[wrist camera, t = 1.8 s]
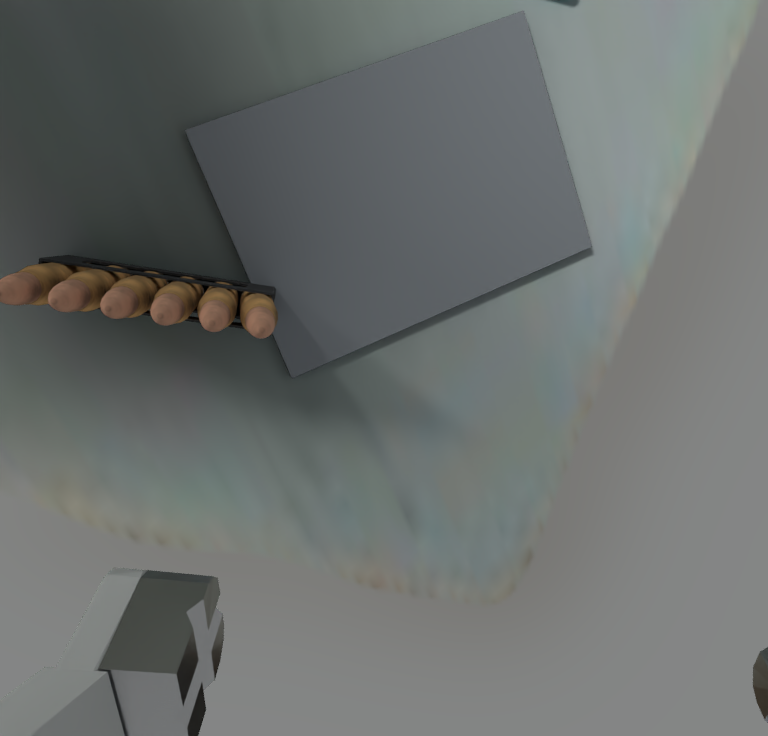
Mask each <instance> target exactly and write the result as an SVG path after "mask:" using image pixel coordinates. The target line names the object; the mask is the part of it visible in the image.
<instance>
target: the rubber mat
mask: <svg viewBox="0 0 768 736" xmlns="http://www.w3.org/2000/svg"><path fill="white" fill-rule="evenodd" d="M185 133H186V135H187V138H188V140H189V142H190V145H191V147H192V149H193V152H194V154H195V156H196V159H197V161H198V163H199V165H200V168H201V170H202V172H203V175H204V177H205V179H206V182H207V184H208V186H209V189H210V191H211V193H212V195H213V198H214V200H215V202H216V205H217V207H218V209H219V212H220V214H221V216H222V219H223V221H224V223H225V226H226V228H227V230H228V232H229V235H230V237H231V239H232V242H233V244H234V246H235V249H236V251H237V253H238V256H239V258H240V260H241V262H242V265H243V267H244V269H245V272H246V274H247V276H248V279H249V281H250V283H252V284H259V285H266V286H272V287H275V288H276V296H275V300H274V305H275V307H276V310H277V312H278V321H277V324H276V326H275V328H274V331H273V332H272V334H273V336H274V339H275V341H276V343H277V346H278V348H279V350H280V353H281V355H282V357H283V360H284V362H285V364H286V366H287V369H288V371H289V373H290V376H291V377H292V378H294V377H296V376H299V375H301V374H303V373H306V372H308V371H310V370H312V369H315V368H317V367H319V366H321V365H324V364H326V363H328V362H331V361H333V360H335V359H337V358H340V357H342V356H344V355H346V354H349V353H351V352H353V351H356V350H358V349H360V348H362V347H365V346H367V345H369V344H372V343H374V342H376V341H378V340H381V339H383V338H385V337H387V336H390V335H392V334H394V333H397V332H399V331H401V330H403V329H406V328H408V327H410V326H412V325H415V324H417V323H419V322H422V321H424V320H426V319H428V318H431V317H433V316H435V315H438V314H440V313H442V312H444V311H447V310H449V309H451V308H453V307H456V306H458V305H460V304H463V303H465V302H467V301H469V300H472V299H474V298H476V297H478V296H481V295H483V294H485V293H488V292H490V291H492V290H494V289H497V288H499V287H501V286H503V285H506V284H508V283H510V282H513V281H515V280H517V279H519V278H522V277H524V276H526V275H529V274H531V273H533V272H535V271H538V270H540V269H542V268H544V267H547V266H549V265H551V264H554V263H556V262H558V261H560V260H563V259H565V258H567V257H569V256H572V255H574V254H576V253H579V252H581V251H583V250H585V249H588V248H590V247H592V244H591V241H590V237H589V234H588V230H587V227H586V224H585V220H584V217H583V213H582V210H581V206H580V203H579V199H578V196H577V192H576V189H575V186H574V182H573V179H572V175H571V172H570V168H569V165H568V161H567V158H566V155H565V151H564V148H563V144H562V141H561V137H560V134H559V130H558V127H557V123H556V120H555V117H554V113H553V110H552V106H551V103H550V99H549V96H548V92H547V89H546V86H545V82H544V79H543V75H542V72H541V68H540V65H539V61H538V58H537V55H536V51H535V48H534V44H533V41H532V37H531V34H530V30H529V27H528V23H527V20H526V17H525V13H524V11H521V12H518V13H515V14H512V15H510V16H507V17H504V18H501V19H498V20H495V21H492V22H490V23H487V24H484V25H481V26H478V27H475V28H473V29H470V30H467V31H464V32H461V33H458V34H456V35H453V36H450V37H447V38H444V39H441V40H439V41H436V42H433V43H430V44H427V45H424V46H422V47H419V48H416V49H413V50H410V51H407V52H405V53H402V54H399V55H396V56H393V57H390V58H387V59H385V60H382V61H379V62H376V63H373V64H370V65H368V66H365V67H362V68H359V69H356V70H353V71H351V72H348V73H345V74H342V75H339V76H336V77H334V78H331V79H328V80H325V81H322V82H319V83H317V84H314V85H311V86H308V87H305V88H302V89H300V90H297V91H294V92H291V93H288V94H285V95H282V96H280V97H277V98H274V99H271V100H268V101H265V102H263V103H260V104H257V105H254V106H251V107H248V108H246V109H243V110H240V111H237V112H234V113H231V114H229V115H226V116H223V117H220V118H217V119H214V120H212V121H209V122H206V123H203V124H200V125H197V126H195V127H192V128H189V129H186V130H185Z"/></svg>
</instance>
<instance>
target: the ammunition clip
mask: <svg viewBox="0 0 768 736" xmlns="http://www.w3.org/2000/svg"><path fill="white" fill-rule="evenodd" d="M275 296H276V288H275V287H272V286H266V285H259V284H252V283H246V282H239V281H233V280H226V279H220V278H213V277H207V276H200V275H194V274H187V273H181V272H174V271H168V270H161V269H155V268H148V267H142V266H135V265H129V264H122V263H116V262H109V261H103V260H96V259H89V258H83V257H76V256H70V255H64V256H55V257H46V258H40V259H39V264H36V265H31V266H27V267H25V268H23V269H22V270H20V271H19V272H16V273H14V274H10V275H7V276H5V277H4V278H2V279H0V302H2V303H5V304H9V305H24V304H32V305H44V304H49V305H50V306H51V307H52V308H54V309H55V310H58V311H61V312H74V311H84V312H87V311H92V310H95V309H101V310H102V312H103V313H104V314H105V315H106V316H107V317H109V318H113V319H122V318H126V317H128V318H132V317H137V316H139V315H148V316H152V319H153V320H154V321H155V322H156V323H158V324H160V325H165V326H167V325H172V324H176V323H181V322H183V321H191V322H199V323H201V325H202V326H203V328H204V329H206V330H208V331H210V332H218V331H221V330H222V329H224V328H226V327H227V326H228V327H235V328H242V329H246V330H247V331H248V332H249V333H250V334H251V335H252V336H254V337H256V338H261V339H262V338H266V337H268V336H270V335H271V333H272V332H273V331H274V328H275V326H276V324H277V321H278V312H277V310H276V307H275V305H274V300H275ZM150 308H151V309H150ZM149 309H150V311H149ZM192 312H194V313H198V317H192V316H190V315H191V313H192ZM235 318H237V319H240V321H241V322H240V323H237V322H233V320H234V319H235Z"/></svg>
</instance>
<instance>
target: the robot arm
mask: <svg viewBox="0 0 768 736" xmlns="http://www.w3.org/2000/svg"><path fill="white" fill-rule="evenodd" d="M219 596H220V589H219V583H218V578H217V577H212V576H203V575H192V574H182V573H172V572H160V571H151V570H136V569H125V568H113V569H112V570H111V571H110V572H109V573H108V574H107V575H106V576H105V577H104V578H103V580H102V582H101V584H100V586H99V587H98V589H97V591H96V593H95V595H94V597H93V599H92V600H91V602H90V604H89V606H88V608H87V610H86V612H85V614H84V615H83V617H82V619H81V621H80V623H79V625H78V627H77V628H76V630H75V632H74V634H73V636H72V638H71V640H70V642H69V643H68V645H67V648H66V649H65V651H64V653H63V655H62V657H61V658H60V660H59V662H58V664H57V666H56V667H44V668H43V669H42V670H40V671H39V672H37V673H36V674H35V675H33V676H32V677H31V678H30V679H28V680H27V681H25V682H24V683H23V684H21V685H20V686H19V687H17V688H16V689H15V690H13V691H12V692H11V693H9V694H8V695H6V696H5V697H4V698H2V699H1V700H0V736H198V735H199V732H200V728H201V725H202V721H203V718H204V715H205V711H206V705H205V698H204V692H203V690H204V689H206V688H207V687H208V686H209V685H210V684H211V683H212V682H213V681H214V680H215V678H216V674H217V670H218V666H219V663H220V659H221V653H222V646H223V640H224V621H223V614H222V613H221V612H220V611H219V610H218V609H217V608H216V605H217V602H218V599H219ZM753 689H754V693H755V697H756V701H757V704H758V706H759V708H760V710H761V713H762V715H763V717H764V719H765V721H767V722H768V647H767V648H766V649H764V650H763V651H760V653H759V655H758V657H757V660H756V662H755V664H754V666H753Z"/></svg>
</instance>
